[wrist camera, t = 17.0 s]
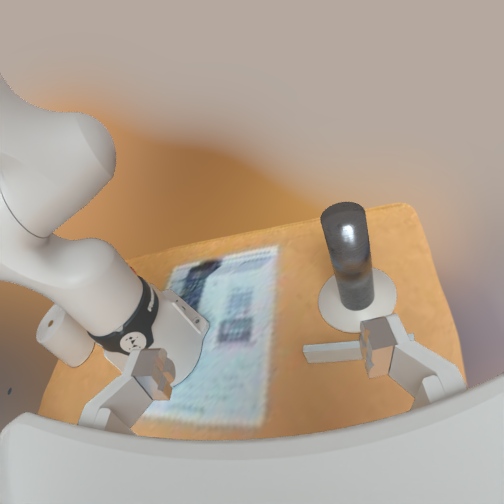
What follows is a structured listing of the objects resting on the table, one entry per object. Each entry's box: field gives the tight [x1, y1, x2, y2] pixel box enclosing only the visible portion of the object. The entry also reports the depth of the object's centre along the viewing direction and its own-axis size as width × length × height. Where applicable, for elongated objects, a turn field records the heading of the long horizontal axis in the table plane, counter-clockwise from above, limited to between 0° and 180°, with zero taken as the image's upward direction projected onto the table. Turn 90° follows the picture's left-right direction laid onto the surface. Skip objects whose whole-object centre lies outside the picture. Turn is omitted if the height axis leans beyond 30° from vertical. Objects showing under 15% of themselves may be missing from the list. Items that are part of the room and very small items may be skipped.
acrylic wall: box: [303, 333, 415, 363], centre depth 33 cm, size 14×1×4 cm, turn 80°
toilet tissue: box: [36, 304, 95, 367], centre depth 53 cm, size 11×12×10 cm
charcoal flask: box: [321, 202, 375, 311], centre depth 36 cm, size 5×5×15 cm
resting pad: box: [318, 267, 397, 333], centre depth 41 cm, size 12×12×1 cm
